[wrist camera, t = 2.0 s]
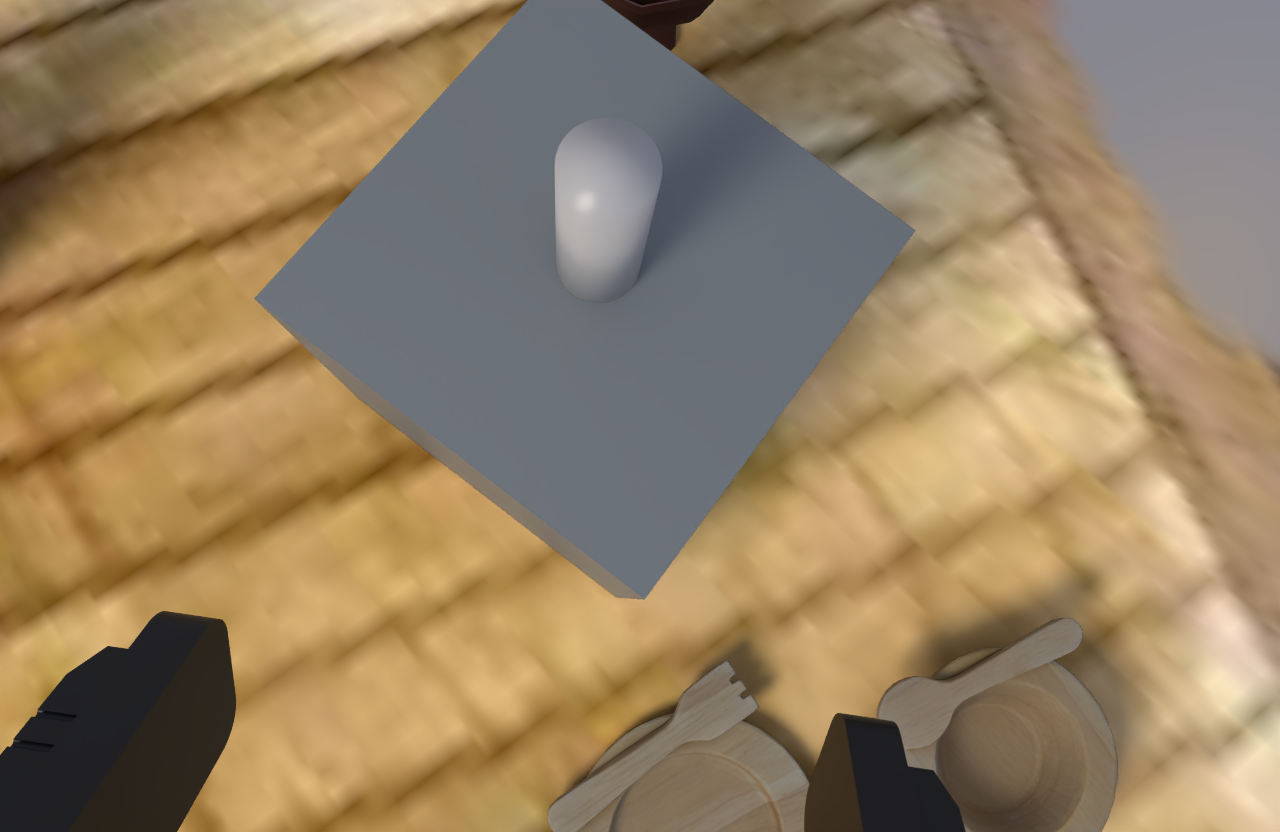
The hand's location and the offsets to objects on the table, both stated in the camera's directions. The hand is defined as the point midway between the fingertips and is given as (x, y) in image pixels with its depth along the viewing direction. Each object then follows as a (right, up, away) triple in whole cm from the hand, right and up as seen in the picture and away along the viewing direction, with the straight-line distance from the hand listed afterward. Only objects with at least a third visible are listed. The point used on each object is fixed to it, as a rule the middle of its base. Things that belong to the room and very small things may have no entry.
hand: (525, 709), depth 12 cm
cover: (-2, +6, +40) cm, 40 cm away
